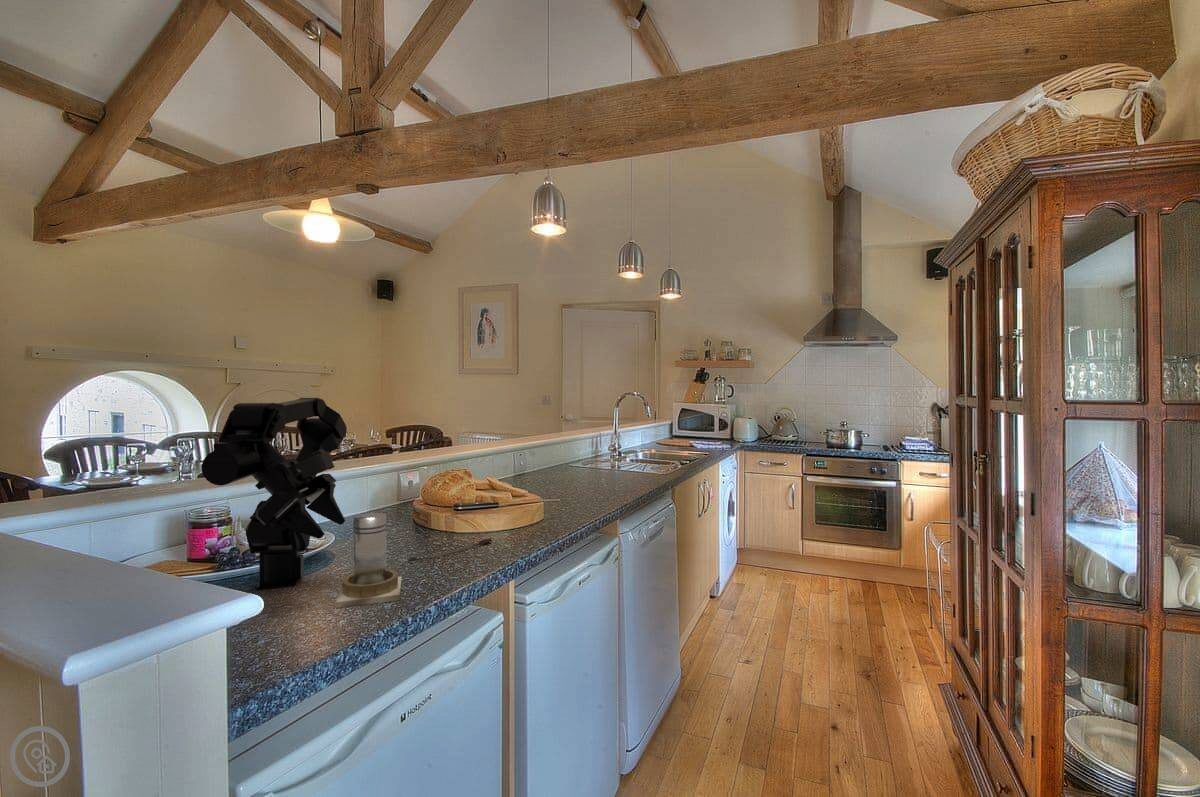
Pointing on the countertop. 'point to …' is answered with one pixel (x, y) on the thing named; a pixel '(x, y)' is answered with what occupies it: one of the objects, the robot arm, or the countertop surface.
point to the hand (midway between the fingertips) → (333, 529)
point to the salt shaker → (369, 548)
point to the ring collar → (369, 591)
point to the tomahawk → (456, 550)
